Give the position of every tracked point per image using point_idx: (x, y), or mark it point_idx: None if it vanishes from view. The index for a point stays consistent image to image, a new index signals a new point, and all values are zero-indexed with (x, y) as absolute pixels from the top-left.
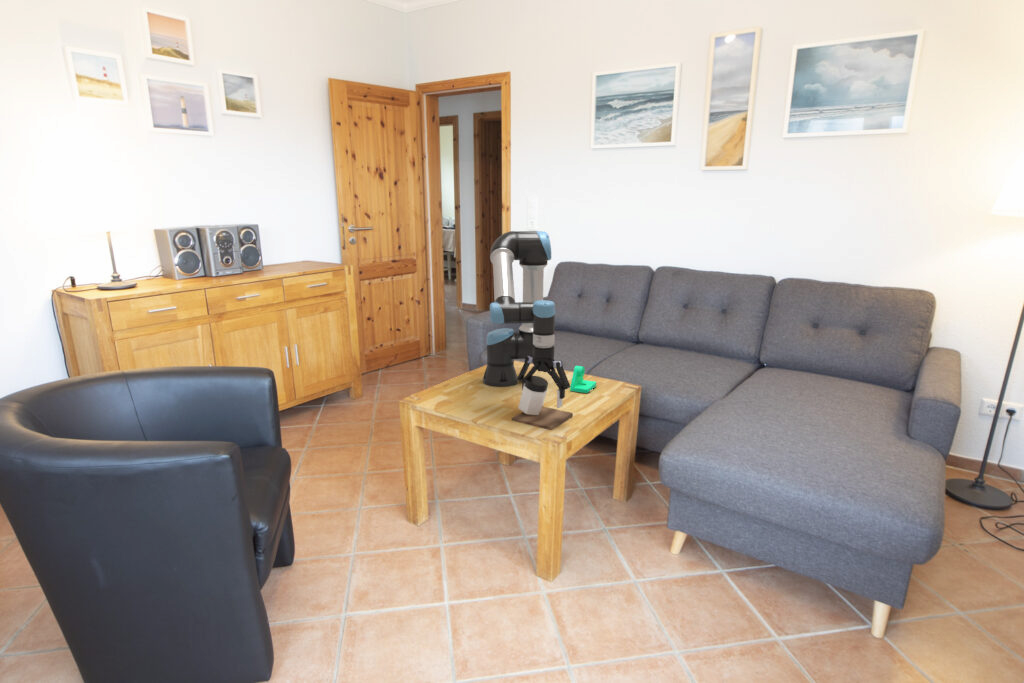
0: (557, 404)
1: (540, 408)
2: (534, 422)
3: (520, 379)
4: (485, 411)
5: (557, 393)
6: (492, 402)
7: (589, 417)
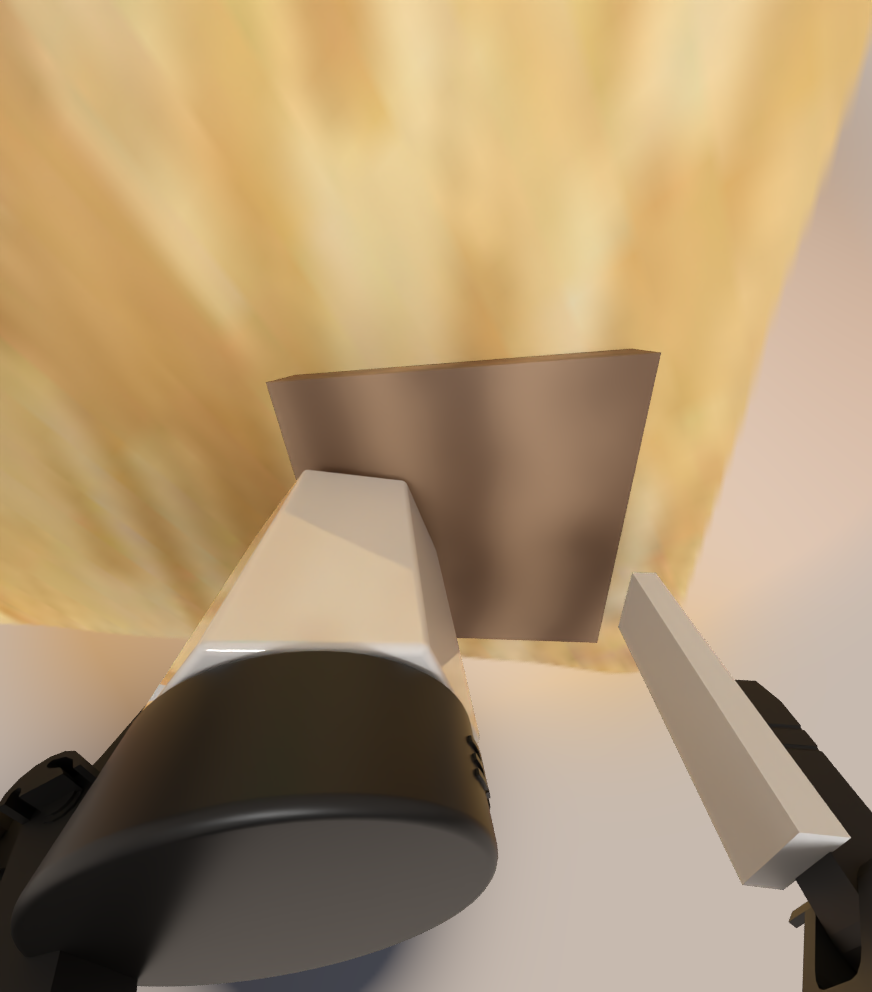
0: (639, 656)
1: (439, 571)
2: (478, 631)
3: None
4: (136, 542)
5: (711, 807)
6: (4, 411)
7: (791, 176)
